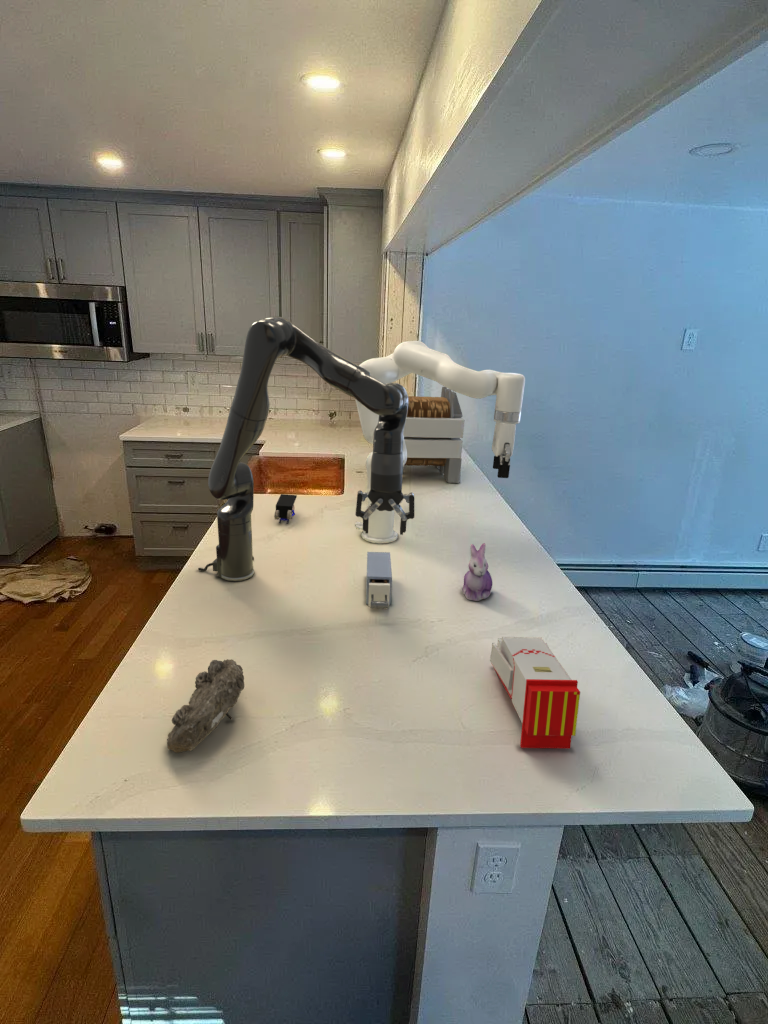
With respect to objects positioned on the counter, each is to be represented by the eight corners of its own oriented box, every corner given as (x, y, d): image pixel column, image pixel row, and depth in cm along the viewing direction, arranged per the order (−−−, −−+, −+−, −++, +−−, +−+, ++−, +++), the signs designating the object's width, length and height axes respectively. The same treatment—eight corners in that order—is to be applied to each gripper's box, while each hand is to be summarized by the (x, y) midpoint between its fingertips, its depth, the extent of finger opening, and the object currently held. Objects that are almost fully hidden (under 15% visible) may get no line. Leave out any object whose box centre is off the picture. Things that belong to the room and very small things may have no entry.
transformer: (382, 463, 289) (386, 382, 275) (445, 464, 293) (451, 384, 279) (390, 482, 257) (394, 392, 243) (460, 483, 261) (468, 394, 247)
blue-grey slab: (390, 604, 152) (392, 577, 149) (366, 604, 152) (367, 576, 149) (388, 578, 167) (390, 552, 164) (366, 577, 167) (367, 551, 164)
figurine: (473, 605, 153) (479, 554, 148) (452, 588, 162) (457, 540, 157) (501, 598, 157) (507, 549, 152) (479, 583, 166) (484, 535, 161)
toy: (539, 620, 128) (589, 687, 99) (533, 674, 131) (581, 755, 102) (485, 619, 128) (521, 686, 99) (481, 673, 131) (514, 755, 101)
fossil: (192, 660, 117) (244, 628, 112) (224, 691, 120) (276, 661, 115) (142, 746, 98) (202, 712, 93) (182, 779, 101) (242, 748, 96)
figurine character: (292, 529, 203) (297, 511, 216) (292, 510, 199) (297, 492, 213) (273, 529, 202) (280, 510, 216) (272, 510, 199) (279, 492, 213)
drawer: (389, 618, 143) (390, 596, 141) (368, 618, 143) (369, 595, 141) (387, 581, 163) (388, 561, 161) (368, 581, 163) (369, 560, 160)
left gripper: (356, 472, 131) (354, 537, 136) (417, 475, 131) (413, 539, 136) (357, 464, 138) (355, 526, 143) (415, 466, 138) (412, 528, 143)
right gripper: (490, 410, 173) (484, 464, 179) (498, 421, 157) (491, 480, 163) (514, 412, 173) (508, 466, 179) (525, 423, 157) (517, 482, 163)
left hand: (384, 533), depth 140 cm, fingers open, 8 cm apart
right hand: (500, 473), depth 171 cm, fingers open, 9 cm apart
